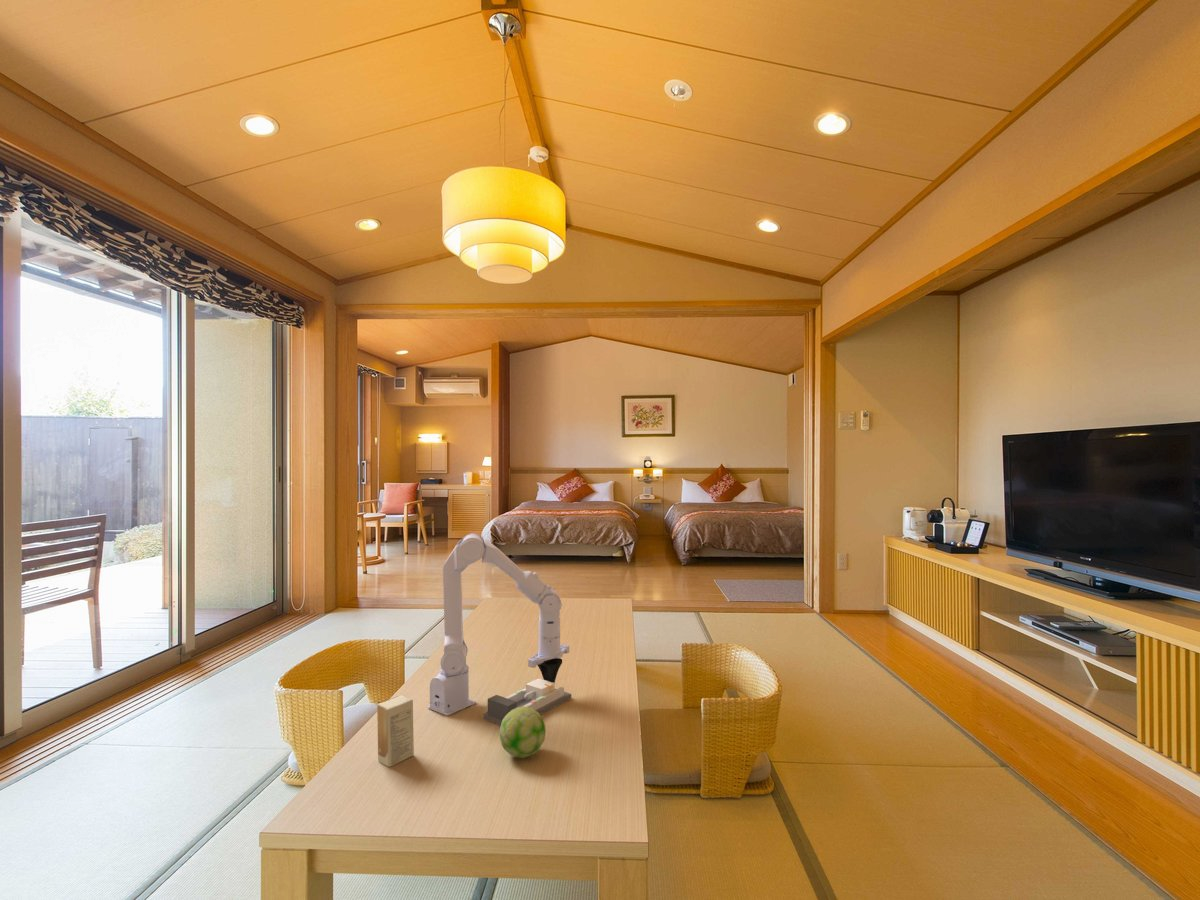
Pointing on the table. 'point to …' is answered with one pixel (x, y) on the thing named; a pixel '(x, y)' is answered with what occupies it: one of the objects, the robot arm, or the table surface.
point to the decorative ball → (522, 732)
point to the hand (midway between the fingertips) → (549, 686)
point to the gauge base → (522, 703)
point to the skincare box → (395, 730)
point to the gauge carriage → (538, 689)
